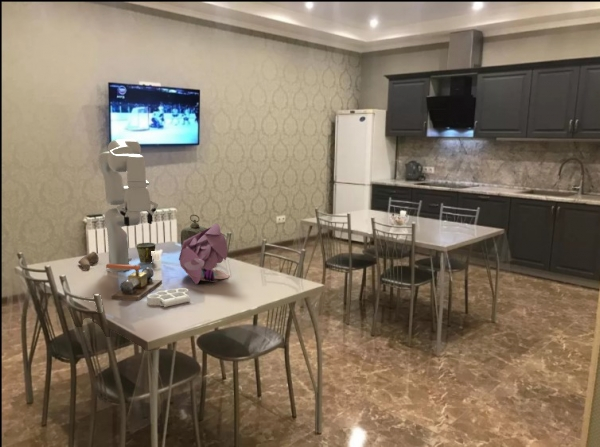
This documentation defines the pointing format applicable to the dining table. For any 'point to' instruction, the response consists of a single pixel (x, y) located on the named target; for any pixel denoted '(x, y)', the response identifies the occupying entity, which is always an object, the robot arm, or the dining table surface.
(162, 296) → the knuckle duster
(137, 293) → the valve board
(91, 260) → the pipe
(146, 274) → the water pipe
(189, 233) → the tabletop clock
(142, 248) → the ceramic cup
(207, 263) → the flower arrangement
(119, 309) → the dining table surface
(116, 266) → the lever
